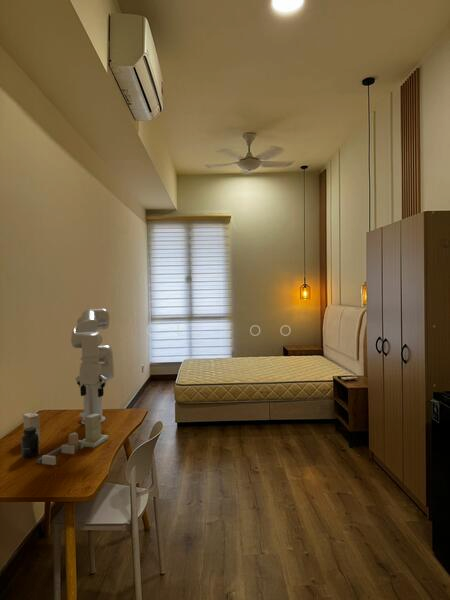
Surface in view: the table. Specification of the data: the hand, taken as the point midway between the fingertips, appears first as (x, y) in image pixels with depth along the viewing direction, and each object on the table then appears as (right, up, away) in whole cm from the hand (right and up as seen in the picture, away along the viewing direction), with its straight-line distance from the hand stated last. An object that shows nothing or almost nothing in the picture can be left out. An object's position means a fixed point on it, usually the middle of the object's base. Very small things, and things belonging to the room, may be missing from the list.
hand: (92, 395), depth 178 cm
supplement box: (-30, -23, +4) cm, 39 cm away
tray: (+1, -22, 0) cm, 22 cm away
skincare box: (+1, -22, 0) cm, 22 cm away
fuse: (-5, -22, -9) cm, 25 cm away
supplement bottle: (-22, -23, -13) cm, 35 cm away
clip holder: (-9, -23, -13) cm, 28 cm away
